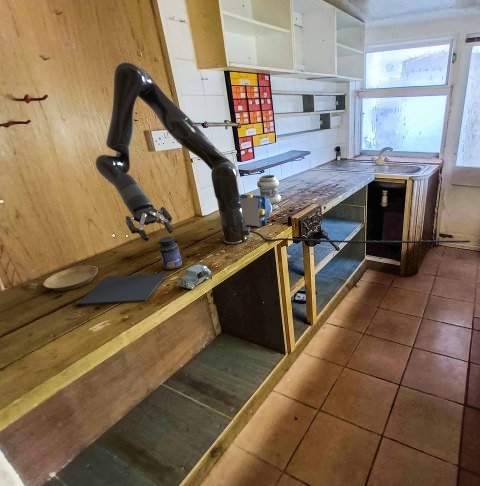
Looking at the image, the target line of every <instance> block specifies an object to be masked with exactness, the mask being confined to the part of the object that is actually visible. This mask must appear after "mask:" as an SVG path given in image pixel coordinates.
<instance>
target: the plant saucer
mask: <svg viewBox="0 0 480 486" xmlns="http://www.w3.org/2000/svg"><path fill="white" fill-rule="evenodd" d="M98 271H99V268H98V267H97V266H95V265H82V266H81V265H80V266H74V267H71V268H67V269H64V270H61V271H59V272H56V273H54V274H52V275H51V276H48V278H46V279H44V281H43V283H42V284H43V287H45V288H47V289H50V290H54V291H59V292H65V291H70V290H76V289H78V288H81V287H83V286H86V285H88V283H90V282H91V281H93V279H94V278H95V277H96V275H97V273H98Z"/></svg>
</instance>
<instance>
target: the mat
mask: <svg viewBox="0 0 480 486" xmlns="http://www.w3.org/2000/svg"><path fill="white" fill-rule="evenodd" d="M167 276H168V274H167V273H154V274H153V273H149V274H132V275H131V274H130V275H112V276H111V275H110V276H107V277H105V278H104V279H103V280H102V281H101V282H100V283H98V284H97V285H96V286H95V287H94V288H93V289H92V290H91V291H89V292H88V293H87V294H86V295H85V296H83V297H82V298H81V299H80V300H79V301H77V303H76V305H77V306H89V305H105V304H107V305H108V304H123V303H140V302H141V303H142V302H146V301H148V299H149V298H150V297H151V296H152V295H153V293H154V292H155V290H156V289H157V288H158V287H159V286H160V284H161V283H162V282H163V281H164V280H165V278H166V277H167Z"/></svg>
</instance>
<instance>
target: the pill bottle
mask: <svg viewBox="0 0 480 486" xmlns="http://www.w3.org/2000/svg"><path fill="white" fill-rule="evenodd" d="M158 241H159V242H158V243H159V245H160V246H159V248H158V250H159V254H160V257H161V262H162V265H163V268H164V270H166V271H173V270H177V269H179V268H181V267H182V266H183V261H182V257H181V252H180V250H179V245H178V244H177V243H176V242H175V237H173V236H164V237H162V238H159V240H158Z"/></svg>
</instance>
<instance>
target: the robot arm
mask: <svg viewBox="0 0 480 486" xmlns="http://www.w3.org/2000/svg"><path fill="white" fill-rule="evenodd" d="M112 97H113V98H112V108H111V109H112V110H111V116H110V122H109V127H108V130H107V131H108V132H107V137H106V140H105V145H106V147H107V148H108V149H110V150H112V151H115V155H110V154H100V155H98V156H97V157H96V158H95V163H94V164H95V167H96V170H97V171H98V173H99V174H100V175H101V176H102V177H103V178H104V179H106V181H108V182H109V183H110V184H111V185H112V186H113V187H114V188H115V190H116V191H117V193H118V194H119V196H120V198H121V200H122V202H123V204H124V205H125V207H126V208H127V209H128V211H129V213H130V214H131V215H132V216H129V215H126V216H125V219H124V222H125V224H126V226H127V227H128V230H129V231H130V233H131V234H133V235H134V234H138V235H139V236H140V238H141V239H142V240H143V241H145V242H149V240H150V237H149V235H148V234H147V232H146V231H145V229H143V228H144V226H148V225H151V224H155V223H157V224H160V225H163V226H164V228H165V230H166V231H167V233H168V234H172V233H173V231H174V228H173V226H172V225H171V223H172V220H173V217H172V216H171V214H170V213H169V212H168V210H167V209H166V208H165V207H164V206H161V207H160V208H158V209H156V208H155V207H154V205H153V203H152V202H151V200H150V199H149V197H148V196H147V194H146V193H145V191H144V190H143V189H142V188H141V187H140V185H139V183H138V182H137V180H136V179H135V177H134V176H132V175H131V174H129V172H130V170H131V157H130V146H131V142H132V137H133V131H134V108H135V104H136V101H137V99H138V98H139V99H140V100H141V101H143V102H144V103H145V104H146V105H147V106H148V107H149V108H150V109H151V110H152V112H153V113H154V114H155V115H156V117H157V119H158V121H159V123H161V125H162V126H163V128H164V129H165V130H166V131H167V133H168V134H169V135H170V136H171V137H172V138H173V139H174V140H175V141H176V142H177V143H178V144H179V145H180V146H181V147H183V148H184V149H186V150H187V151H188V152H190V153H192V154H193V155H194V156H197V158H199V159H200V160H201V161H202V162H203V163H205V164H206V166H207V167H208V168H209V169H210V170H211V173H210V174H211V183H212V187H213V188H212V189H213V193H214V197H215V199H216V202H217V208H218V213H219V219H220V225H221V234H222V236H223V243H224V244H227V245H237V244H241V243H245V242H246V240H247V239H248V236H250V234H254V235H257V236H259V237H260V238H261V239H262V240H264V241H265V242H278V241H292V242H312V243H313V242H314V243H315V242H317V243H341V244H342V243H345V244H346V243H347V244H349V243H350V244H438V243H439V244H442V243H443V244H445V243H446V244H448V243H451V244H452V243H454V244H456V243H465V244H466V243H469V244H470V243H471V240H470V239H469V240H468V239H467V240H465V239H464V240H463V239H461V240H460V239H459V240H457V239H455V240H446V239H445V240H442V239H441V240H343V239H342V240H341V239H340V240H339V239H313V238H289V237H287V238H285V237H281V238H266V237H264V235H262V233H259V232H257V231H254V230H252V229H251V226H247V225H245V218H244V217H243V213H242V206H241V198H240V195H241V194H240V192H239V187H238V180H237V179H238V176H239V173H238V169H237V166H236V165H235V164H234V163H233V162H232V161H231V160H230V159H229V158H228V157H227V156H225V155H224V154H223V153H222V152H221V151H219V150H218V149H217V147H215V146H214V145H213V143H212V142H211V141H210V139H209V138H208V137H207V136H206V135H205V133H204V132H203V131H202V130H201V129H200V128H199V127H198V125H196V124H195V122H193V121H192V120H191V118H190V117H189V116H188V115H187V114H186V113H185V112H184V111H183V110H182V108H180V107H179V106H178V105H177V104H176V103H175V102H174V101H172V100H171V99H170V98H169V97H168V96H167V95H166V94H165V93H164V91H163V90H162V89H161V87H160V86H159V85H158V84H157V83H156V81H155V80H154V79H153V77H152V76H151V75H150V74H149V73H148V72H147V70H145V69H144V67H142V66H140V65H137V64H134V63H132V62H127V61H125V62H120V63H119V64H118V65H116V67H115V69H114V73H113V96H112ZM134 221H135V222H137V223H139V225H138V227H136V225H135V224H134Z"/></svg>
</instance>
